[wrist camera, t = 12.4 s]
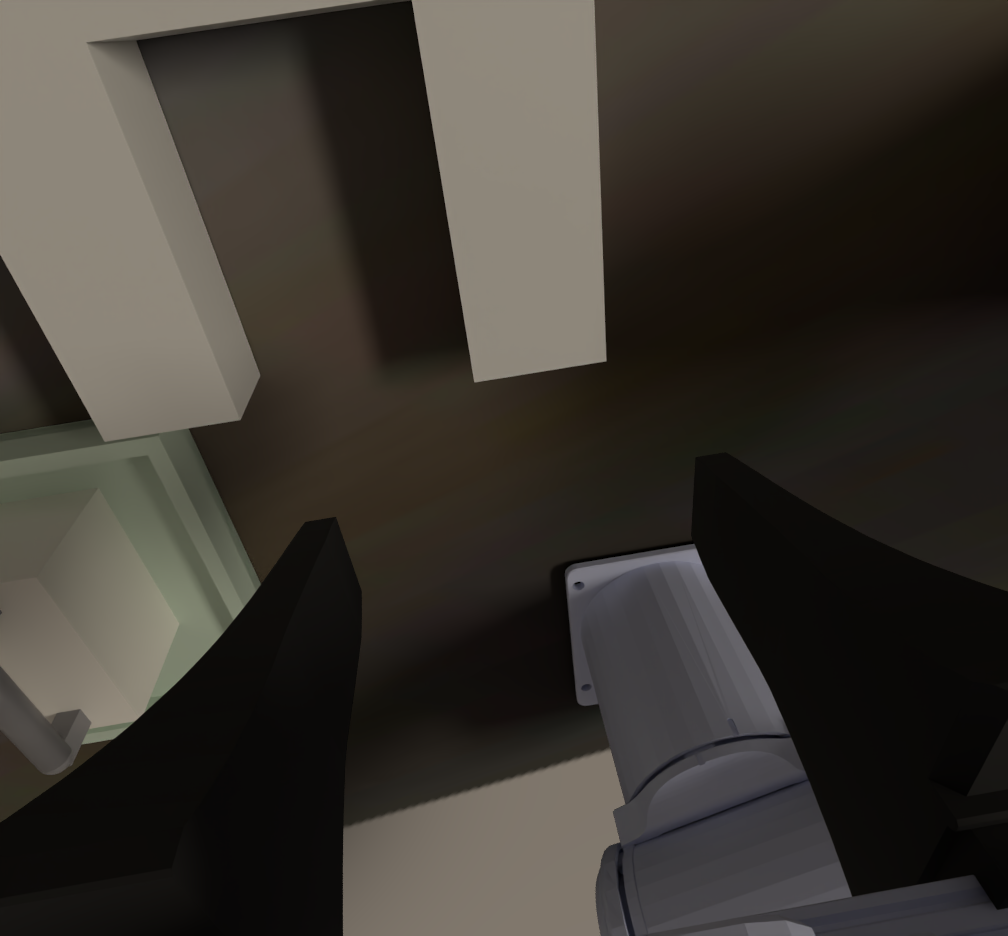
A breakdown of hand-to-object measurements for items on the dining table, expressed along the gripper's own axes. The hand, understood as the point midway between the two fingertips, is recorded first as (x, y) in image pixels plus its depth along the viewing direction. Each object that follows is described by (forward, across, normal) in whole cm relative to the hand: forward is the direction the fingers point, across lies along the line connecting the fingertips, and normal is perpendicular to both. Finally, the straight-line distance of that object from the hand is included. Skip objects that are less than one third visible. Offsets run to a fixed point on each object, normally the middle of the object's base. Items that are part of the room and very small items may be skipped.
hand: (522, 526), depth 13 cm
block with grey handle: (+10, +16, +7) cm, 20 cm away
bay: (+10, +4, -5) cm, 12 cm away
